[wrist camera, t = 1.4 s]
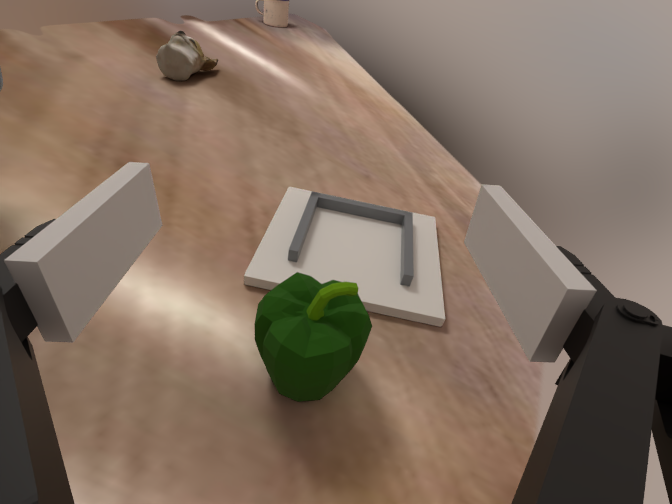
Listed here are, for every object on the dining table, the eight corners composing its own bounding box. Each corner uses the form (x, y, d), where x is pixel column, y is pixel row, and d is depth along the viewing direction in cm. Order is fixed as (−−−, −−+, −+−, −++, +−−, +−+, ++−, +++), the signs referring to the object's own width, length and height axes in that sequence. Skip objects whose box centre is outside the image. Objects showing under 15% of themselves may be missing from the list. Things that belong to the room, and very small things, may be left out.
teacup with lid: (290, 24, 141) (292, -13, 133) (285, 29, 134) (288, -11, 126) (258, 19, 140) (258, -19, 133) (252, 22, 133) (252, -17, 126)
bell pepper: (239, 408, 28) (237, 322, 22) (268, 323, 34) (273, 237, 28) (350, 429, 28) (380, 350, 22) (358, 340, 34) (383, 259, 28)
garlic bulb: (137, 29, 71) (172, 22, 83) (143, 78, 76) (175, 65, 88) (193, 40, 71) (220, 32, 83) (196, 88, 76) (220, 74, 89)
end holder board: (244, 284, 38) (243, 264, 36) (288, 194, 51) (289, 176, 50) (441, 327, 37) (450, 308, 35) (432, 224, 51) (438, 207, 49)
